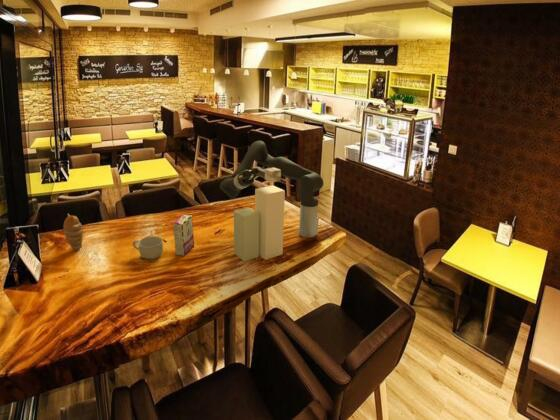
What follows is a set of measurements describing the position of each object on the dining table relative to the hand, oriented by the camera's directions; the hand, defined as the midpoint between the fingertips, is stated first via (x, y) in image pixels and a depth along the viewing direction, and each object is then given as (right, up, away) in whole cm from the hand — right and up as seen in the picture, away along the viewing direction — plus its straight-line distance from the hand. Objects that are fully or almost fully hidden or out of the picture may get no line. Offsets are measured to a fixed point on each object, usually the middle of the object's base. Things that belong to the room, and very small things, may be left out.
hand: (260, 169), depth 176 cm
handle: (+2, -4, -2) cm, 5 cm away
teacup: (-52, -40, +3) cm, 66 cm away
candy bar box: (-37, -38, +9) cm, 54 cm away
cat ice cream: (-87, -38, +6) cm, 95 cm away
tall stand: (+3, -39, +8) cm, 40 cm away
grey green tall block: (-7, -40, +6) cm, 41 cm away
